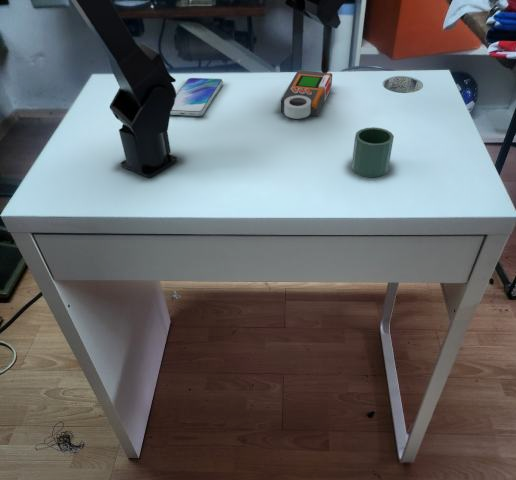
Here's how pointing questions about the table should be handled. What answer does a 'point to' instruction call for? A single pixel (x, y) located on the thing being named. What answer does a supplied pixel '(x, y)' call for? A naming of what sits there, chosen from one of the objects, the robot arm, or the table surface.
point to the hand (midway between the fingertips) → (335, 24)
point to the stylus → (326, 48)
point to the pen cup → (372, 152)
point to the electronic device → (306, 94)
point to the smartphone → (195, 96)
